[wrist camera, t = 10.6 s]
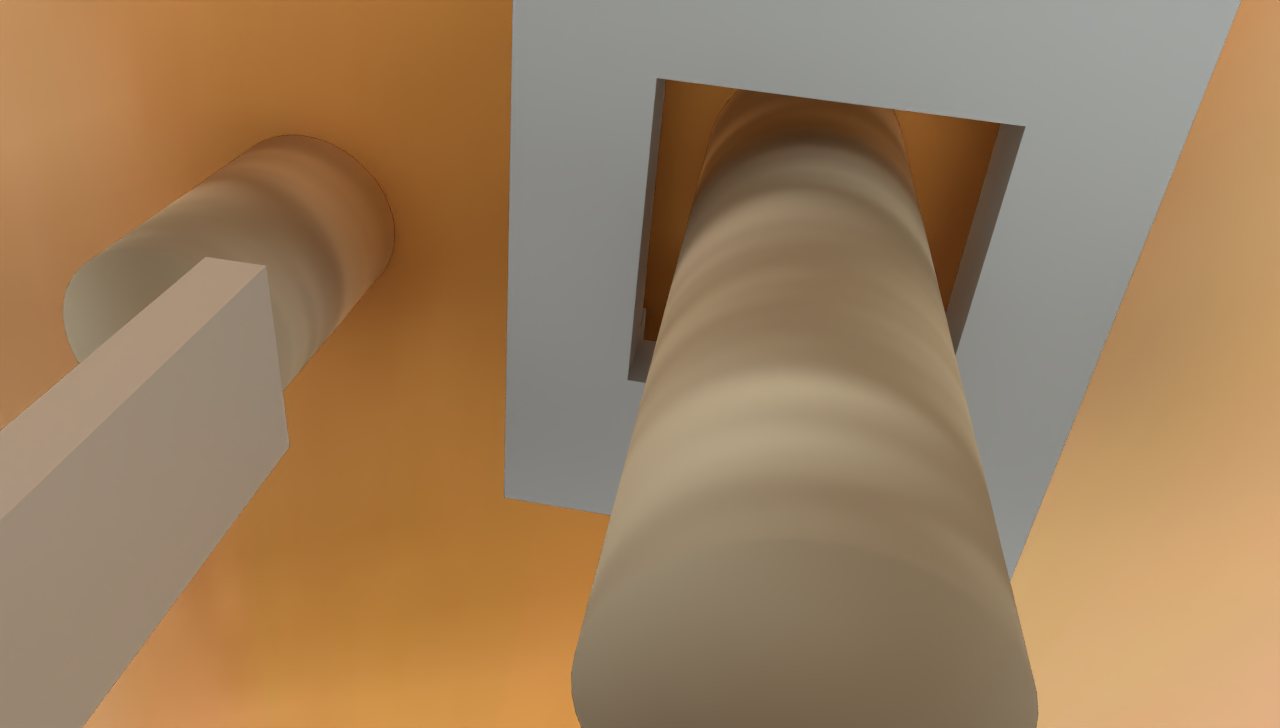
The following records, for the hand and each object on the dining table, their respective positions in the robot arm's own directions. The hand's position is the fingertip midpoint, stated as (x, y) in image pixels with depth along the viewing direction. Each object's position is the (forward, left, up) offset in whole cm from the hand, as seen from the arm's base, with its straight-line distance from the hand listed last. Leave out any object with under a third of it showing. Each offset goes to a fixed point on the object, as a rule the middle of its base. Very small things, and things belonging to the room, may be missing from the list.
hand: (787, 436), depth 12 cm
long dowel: (0, 0, -10) cm, 10 cm away
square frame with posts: (0, 0, -10) cm, 10 cm away
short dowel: (-11, -3, -10) cm, 15 cm away
